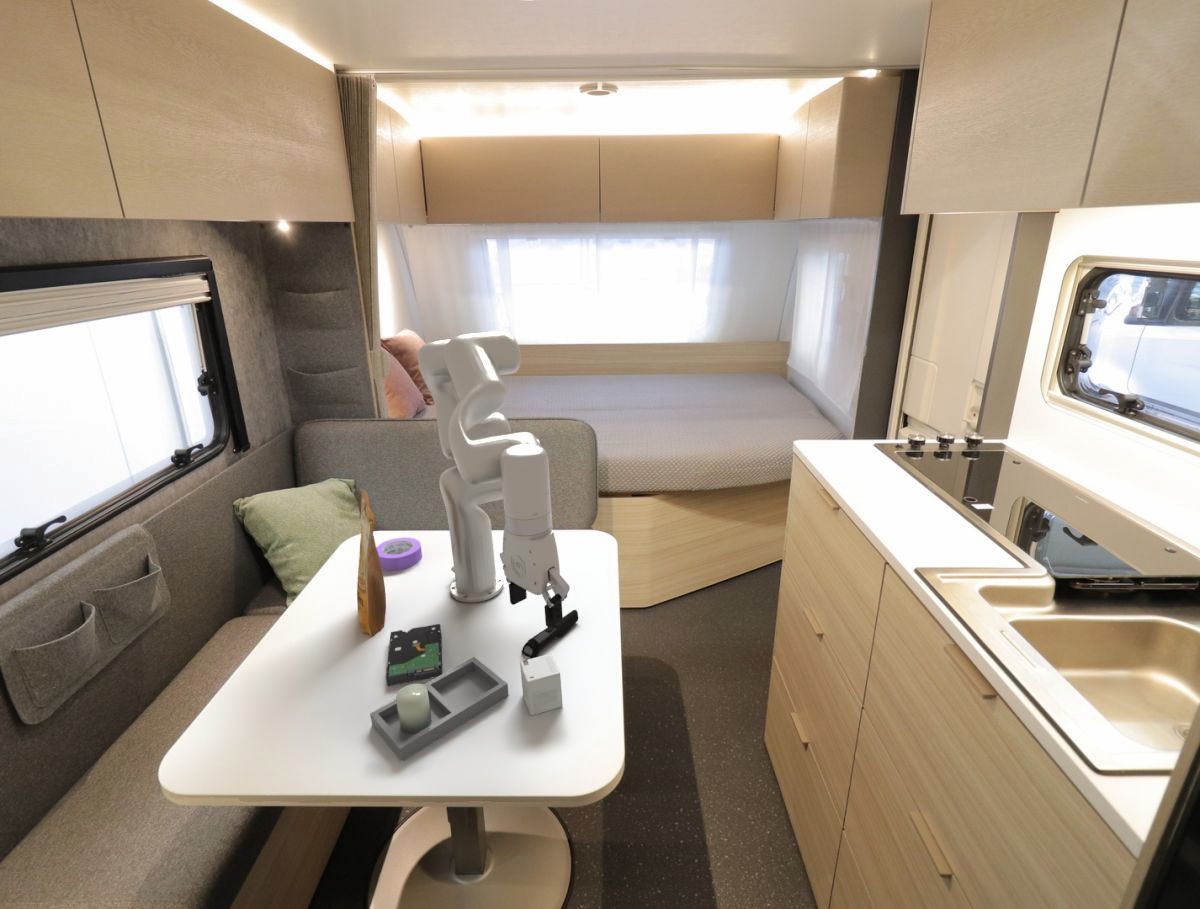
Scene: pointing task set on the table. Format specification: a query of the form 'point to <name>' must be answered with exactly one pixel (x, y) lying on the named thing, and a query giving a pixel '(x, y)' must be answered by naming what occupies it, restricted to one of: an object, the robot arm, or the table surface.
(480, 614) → the table surface
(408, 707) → the sage jar
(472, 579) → the robot arm
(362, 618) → the pancake mix bag
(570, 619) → the electric trimmer
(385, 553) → the masking tape
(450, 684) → the caddy
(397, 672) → the disk drive
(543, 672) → the white box
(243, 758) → the table surface
